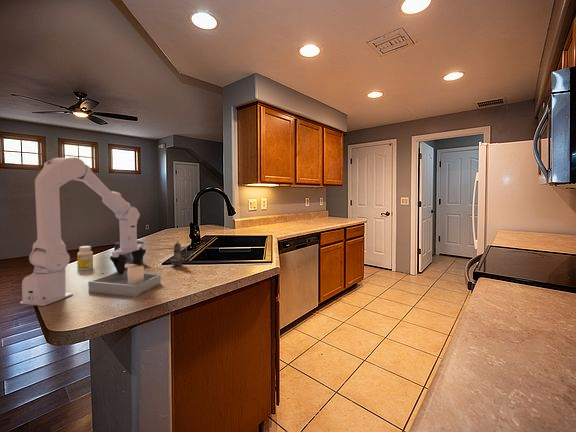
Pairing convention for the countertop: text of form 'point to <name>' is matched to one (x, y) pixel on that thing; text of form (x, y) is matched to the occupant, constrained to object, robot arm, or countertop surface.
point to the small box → (128, 255)
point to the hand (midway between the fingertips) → (129, 270)
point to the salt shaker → (177, 256)
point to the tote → (123, 284)
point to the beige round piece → (135, 275)
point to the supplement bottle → (85, 258)
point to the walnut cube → (129, 266)
